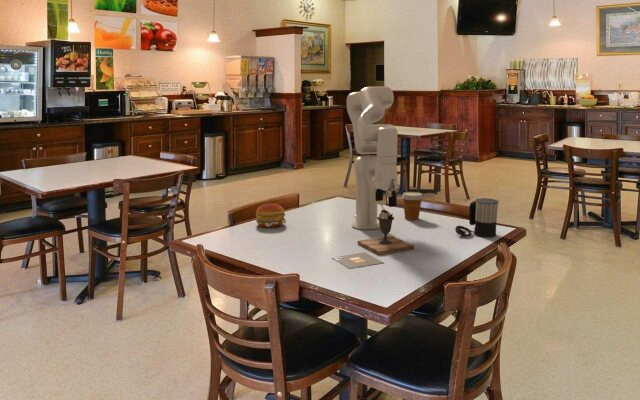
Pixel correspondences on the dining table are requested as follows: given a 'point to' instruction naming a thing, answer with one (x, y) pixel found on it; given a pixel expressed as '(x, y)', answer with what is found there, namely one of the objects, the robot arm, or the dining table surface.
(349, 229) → the dining table surface
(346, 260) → the card
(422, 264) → the dining table surface
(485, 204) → the milk frother
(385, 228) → the sundae
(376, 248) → the board
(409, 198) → the disposable coffee cup
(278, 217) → the burger
